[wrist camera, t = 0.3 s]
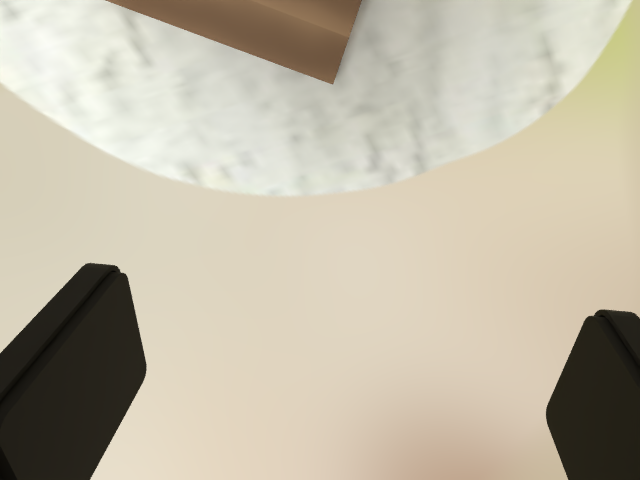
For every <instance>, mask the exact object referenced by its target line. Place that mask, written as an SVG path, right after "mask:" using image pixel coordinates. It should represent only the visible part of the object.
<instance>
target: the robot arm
mask: <svg viewBox="0 0 640 480" xmlns="http://www.w3.org/2000/svg"><path fill="white" fill-rule="evenodd" d="M145 374H146V361H145V356H144V351H143V346H142V342H141V337H140V332H139V328H138V323H137V318H136V314H135V309H134V304H133V300H132V295H131V291H130V287H129V281H128V278H127V276H126V274H124V273H121V272H120V269H118V267H117V266H115V265H106V264H95V263H88V264H85V265H84V266H83V267H82V268H81V269H80V270H79V271H78V272H77V273H76V274H75V275H74V276H73V277H72V278H71V279H70V280H69V281H68V283H66V284H65V286H64V287H63V288H62V289H61V290H60V291H59V292H58V293H57V294H56V295H55V296H54V297H53V298H52V299H51V300H50V301H49V302H48V303H47V305H46V306H45V307H44V308H43V309H42V310H41V311H40V312H39V313H38V314H37V315H36V316H35V317H34V318H33V319H32V320H31V322H30V323H29V324H28V325H27V326H26V327H25V328H24V329H23V330H22V331H21V332H20V333H19V334H18V335H17V336H16V337H15V338H14V340H13V341H12V342H11V343H10V344H9V345H8V346H7V347H6V348H5V349H4V350H3V351H2V352H1V353H0V480H90V479H91V477H92V475H93V473H94V471H95V469H96V468H97V466H98V464H99V462H100V460H101V458H102V456H103V455H104V453H105V451H106V449H107V447H108V445H109V444H110V442H111V440H112V438H113V436H114V434H115V433H116V431H117V429H118V427H119V425H120V423H121V422H122V420H123V418H124V416H125V414H126V412H127V410H128V409H129V407H130V405H131V403H132V401H133V399H134V398H135V396H136V394H137V392H138V390H139V388H140V386H141V385H142V383H143V381H144V378H145ZM546 419H547V424H548V427H549V430H550V432H551V435H552V438H553V440H554V443H555V445H556V448H557V451H558V453H559V456H560V459H561V461H562V464H563V467H564V469H565V472H566V475H567V477H568V480H640V318H639V317H638V316H637V315H636V314H635V313H632V312H625V311H613V310H599V311H597V312H596V313H595V315H594V316H588V317H587V318H586V319H585V321H584V323H583V326H582V328H581V330H580V333H579V335H578V337H577V339H576V342H575V344H574V346H573V348H572V350H571V353H570V355H569V357H568V360H567V362H566V364H565V366H564V369H563V371H562V373H561V376H560V378H559V380H558V382H557V385H556V387H555V389H554V392H553V394H552V396H551V398H550V401H549V403H548V405H547V409H546Z"/></svg>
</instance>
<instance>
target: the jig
mask: <svg viewBox="0 0 640 480" xmlns="http://www.w3.org/2000/svg"><path fill="white" fill-rule="evenodd" d="M106 1H109V2H111V3H114V4H117V5H119V6H122V7H125V8H128V9H130V10H133V11H136V12H138V13H141V14H144V15H146V16H149V17H152V18H155V19H157V20H160V21H163V22H165V23H168V24H171V25H173V26H176V27H179V28H182V29H184V30H187V31H190V32H192V33H195V34H198V35H200V36H203V37H206V38H209V39H211V40H214V41H217V42H219V43H222V44H225V45H227V46H230V47H233V48H236V49H238V50H241V51H244V52H246V53H249V54H252V55H254V56H257V57H260V58H263V59H265V60H268V61H271V62H273V63H276V64H279V65H281V66H284V67H287V68H289V69H292V70H295V71H298V72H300V73H303V74H306V75H308V76H311V77H314V78H316V79H319V80H322V81H325V82H327V83H330V84H333V83H334V80H335V77H336V74H337V71H338V68H339V65H340V62H341V59H342V56H343V54H344V51H345V48H346V45H347V42H348V39H349V36H350V33H351V30H352V27H353V24H354V21H355V18H356V16H357V13H358V10H359V7H360V4H361V1H362V0H106Z"/></svg>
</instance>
